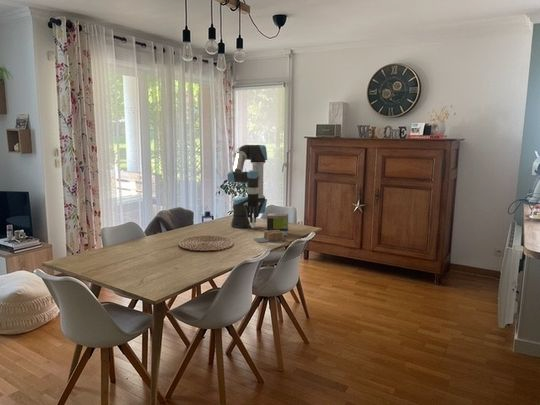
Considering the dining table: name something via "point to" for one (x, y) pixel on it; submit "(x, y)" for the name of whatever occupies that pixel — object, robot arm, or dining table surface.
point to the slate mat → (261, 240)
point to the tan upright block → (273, 235)
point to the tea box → (278, 222)
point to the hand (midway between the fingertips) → (252, 227)
